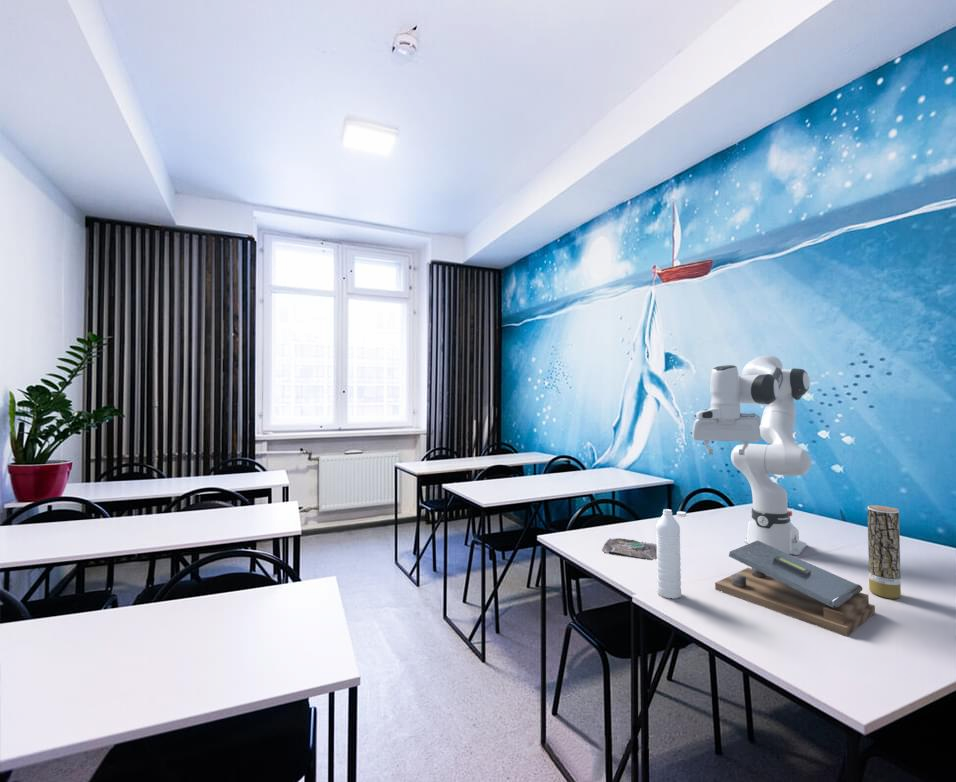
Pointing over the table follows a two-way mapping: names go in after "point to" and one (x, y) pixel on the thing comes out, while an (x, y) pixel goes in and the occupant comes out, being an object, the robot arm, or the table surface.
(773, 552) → the plate
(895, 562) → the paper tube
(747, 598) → the leveling base
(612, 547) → the terrain model
